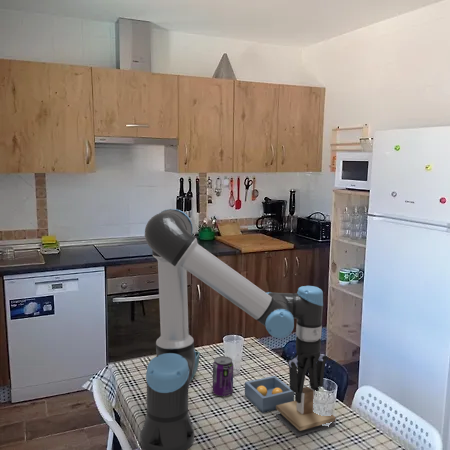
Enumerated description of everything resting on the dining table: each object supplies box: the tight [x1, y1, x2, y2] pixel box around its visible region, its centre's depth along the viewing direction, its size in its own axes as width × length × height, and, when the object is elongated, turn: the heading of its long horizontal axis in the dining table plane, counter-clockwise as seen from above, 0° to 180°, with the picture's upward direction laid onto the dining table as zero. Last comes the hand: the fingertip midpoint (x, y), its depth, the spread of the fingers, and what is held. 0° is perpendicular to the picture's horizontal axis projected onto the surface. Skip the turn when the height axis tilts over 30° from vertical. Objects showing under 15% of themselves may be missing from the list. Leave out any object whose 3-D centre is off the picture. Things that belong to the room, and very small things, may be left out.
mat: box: [275, 412, 336, 437], centre depth 140 cm, size 14×12×1 cm
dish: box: [244, 375, 295, 414], centre depth 151 cm, size 12×12×5 cm
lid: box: [276, 386, 336, 431], centre depth 139 cm, size 13×13×8 cm
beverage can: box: [211, 355, 234, 397], centre depth 155 cm, size 7×7×12 cm
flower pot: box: [190, 350, 201, 383], centre depth 165 cm, size 9×9×9 cm
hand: (305, 410), depth 139 cm, fingers closed on lid, 3 cm apart
